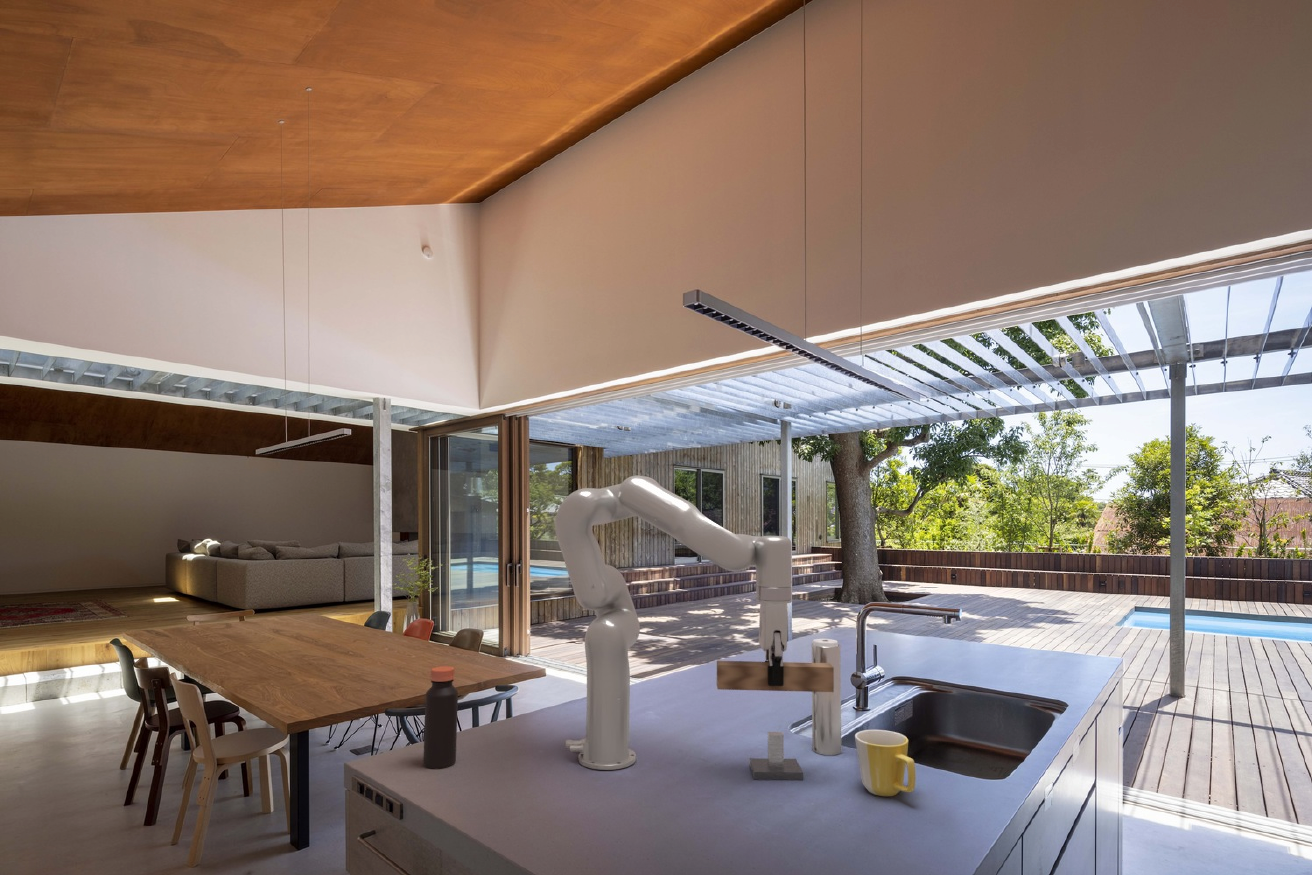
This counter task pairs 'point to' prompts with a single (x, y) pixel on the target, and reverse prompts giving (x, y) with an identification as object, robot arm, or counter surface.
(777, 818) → the counter surface
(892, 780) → the mug
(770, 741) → the ridge
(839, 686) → the silver metal cylinder
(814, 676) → the walnut beam
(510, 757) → the counter surface
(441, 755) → the bottle
